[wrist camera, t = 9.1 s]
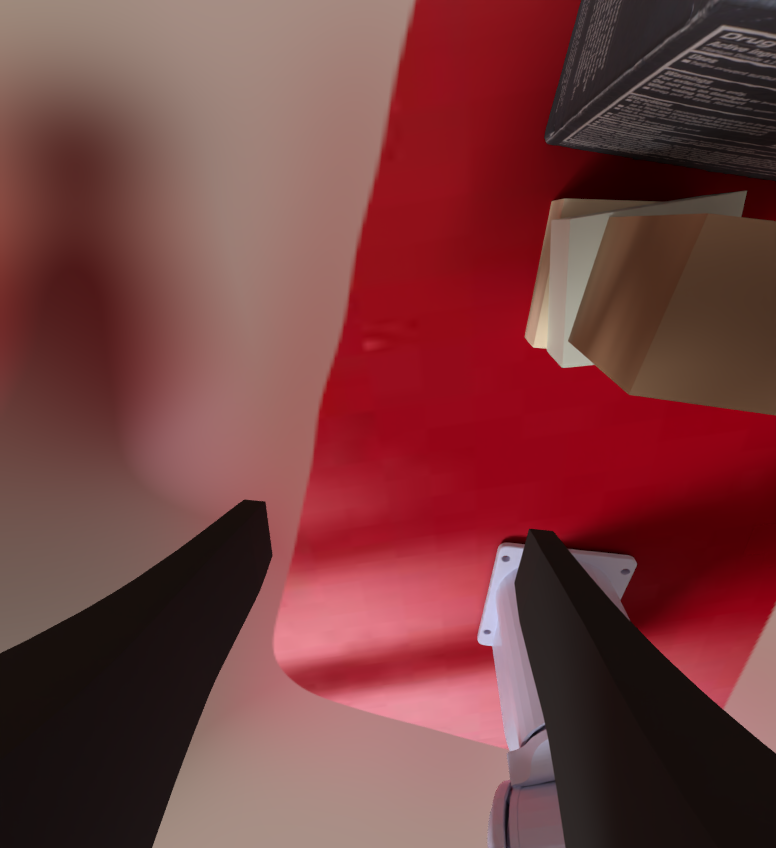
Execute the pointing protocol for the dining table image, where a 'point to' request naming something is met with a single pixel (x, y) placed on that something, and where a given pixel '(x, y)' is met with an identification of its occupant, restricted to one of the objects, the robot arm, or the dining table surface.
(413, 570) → the dining table surface
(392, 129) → the dining table surface
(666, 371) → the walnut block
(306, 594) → the dining table surface
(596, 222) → the tower top
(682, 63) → the small box
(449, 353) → the dining table surface
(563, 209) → the tower base
